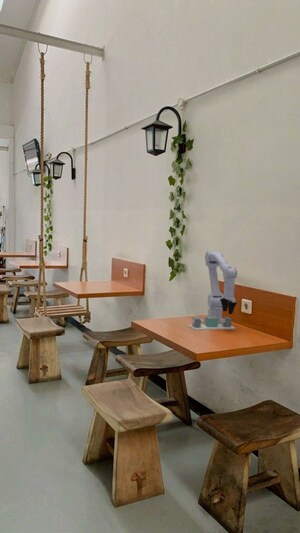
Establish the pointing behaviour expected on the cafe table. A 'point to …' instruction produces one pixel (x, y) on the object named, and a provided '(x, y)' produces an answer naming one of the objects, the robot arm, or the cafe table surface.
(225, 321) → the shaft stand
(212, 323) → the teal block
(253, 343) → the cafe table surface
